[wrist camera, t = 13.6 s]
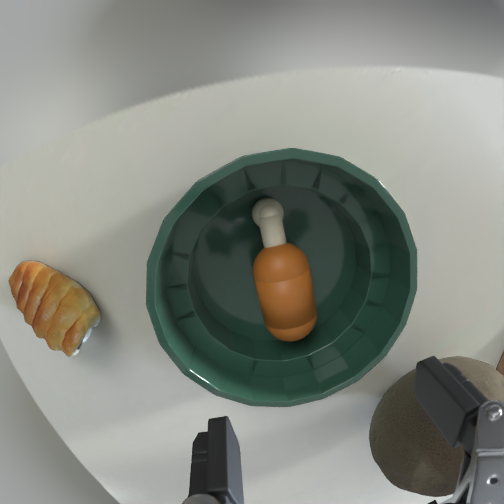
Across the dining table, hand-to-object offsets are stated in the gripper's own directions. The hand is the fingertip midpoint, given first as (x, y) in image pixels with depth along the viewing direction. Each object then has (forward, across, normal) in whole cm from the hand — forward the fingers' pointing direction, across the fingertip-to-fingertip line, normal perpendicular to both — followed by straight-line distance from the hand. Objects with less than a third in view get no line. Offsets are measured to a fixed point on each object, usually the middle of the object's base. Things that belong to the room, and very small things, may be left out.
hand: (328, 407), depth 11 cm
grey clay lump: (+14, -12, +16) cm, 25 cm away
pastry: (+15, +19, -2) cm, 24 cm away
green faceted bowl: (+14, 0, -1) cm, 14 cm away
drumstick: (+14, 0, -1) cm, 14 cm away
